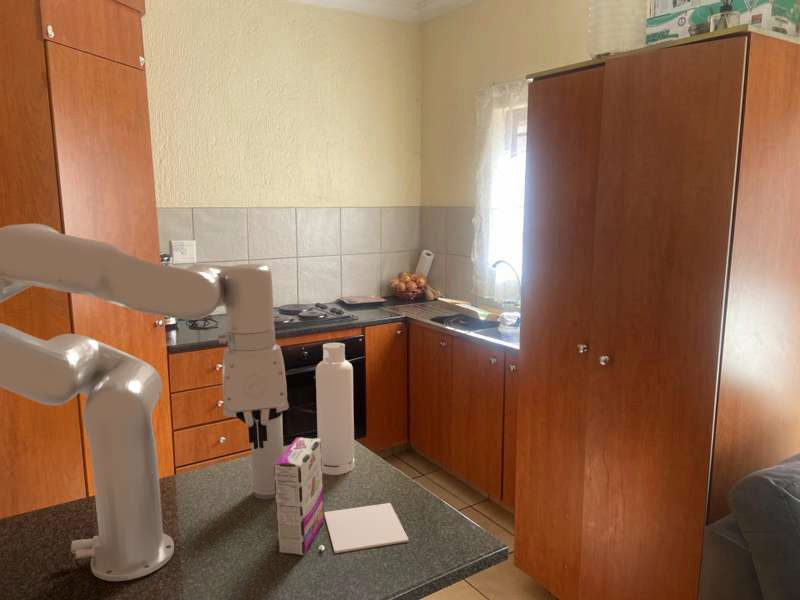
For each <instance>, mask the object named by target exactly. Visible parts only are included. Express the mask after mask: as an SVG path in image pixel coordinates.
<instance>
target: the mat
mask: <svg viewBox="0 0 800 600" xmlns="http://www.w3.org/2000/svg"><path fill="white" fill-rule="evenodd" d="M324 520H325V524H326V526H327V529H328V530H327V531H328V534H329V538H330V542H331V545H332V548H333V552H334V554H339V553H340V554H341V553H346V552H353V551H357V550H364V549H370V548H377V547H381V546H382V547H383V546H389V545H394V544H401V543H408V542H409V541H410V540H409V537H408V536H407V535H408V534H406V532H405V530H404V528H403V525H402V524H401V521H400V519H399V517H398V515H397V514H396V511H395V510H394V507H393V506H392V504H391V502H387V503H381V504H373V505H366V506H365V505H364V506H357V507H352V508H344V509H337V510H331V511H330V510H329V511H324Z"/></svg>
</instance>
